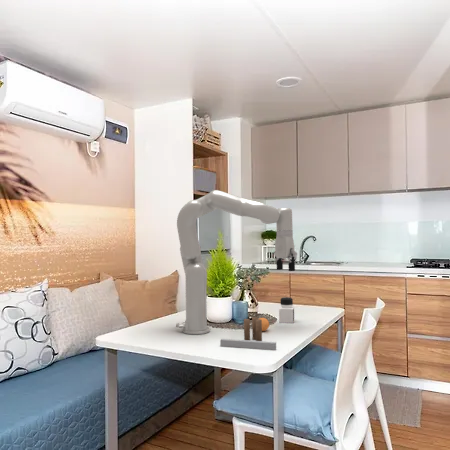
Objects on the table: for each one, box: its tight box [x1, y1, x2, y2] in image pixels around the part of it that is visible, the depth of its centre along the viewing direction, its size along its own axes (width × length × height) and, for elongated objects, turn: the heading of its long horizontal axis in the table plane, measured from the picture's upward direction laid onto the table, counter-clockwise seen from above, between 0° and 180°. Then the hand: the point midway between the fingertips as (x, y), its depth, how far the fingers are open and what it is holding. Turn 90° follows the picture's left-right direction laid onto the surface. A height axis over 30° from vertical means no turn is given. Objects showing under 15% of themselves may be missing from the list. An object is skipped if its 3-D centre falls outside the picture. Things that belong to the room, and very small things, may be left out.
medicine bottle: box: [278, 296, 295, 324], centre depth 210 cm, size 7×7×12 cm
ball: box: [258, 317, 270, 332], centre depth 190 cm, size 6×6×6 cm
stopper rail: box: [219, 338, 277, 351], centre depth 163 cm, size 22×2×2 cm, turn 73°
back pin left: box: [243, 318, 251, 341], centre depth 172 cm, size 2×2×9 cm
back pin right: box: [255, 318, 263, 341], centre depth 171 cm, size 2×2×9 cm
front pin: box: [251, 316, 259, 341], centre depth 175 cm, size 2×2×9 cm
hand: (285, 270), depth 197 cm, fingers open, 9 cm apart
